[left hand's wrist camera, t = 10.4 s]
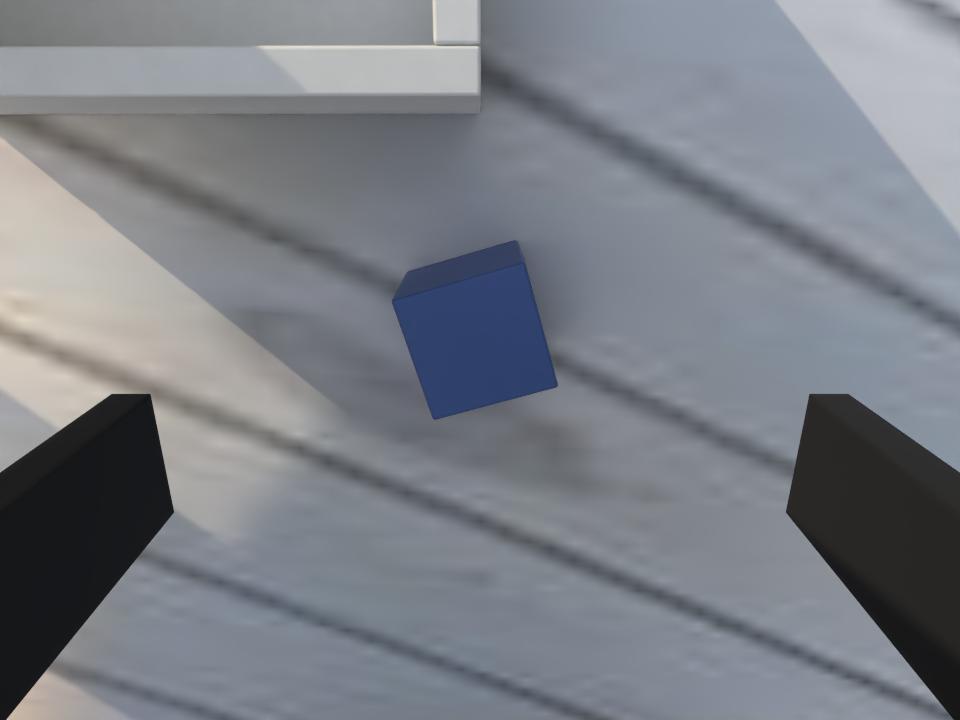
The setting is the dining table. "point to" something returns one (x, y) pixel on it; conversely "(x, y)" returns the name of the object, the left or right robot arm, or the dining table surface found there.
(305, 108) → the chest
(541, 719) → the dining table surface
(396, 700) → the dining table surface
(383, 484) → the dining table surface
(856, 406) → the left robot arm
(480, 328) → the block
